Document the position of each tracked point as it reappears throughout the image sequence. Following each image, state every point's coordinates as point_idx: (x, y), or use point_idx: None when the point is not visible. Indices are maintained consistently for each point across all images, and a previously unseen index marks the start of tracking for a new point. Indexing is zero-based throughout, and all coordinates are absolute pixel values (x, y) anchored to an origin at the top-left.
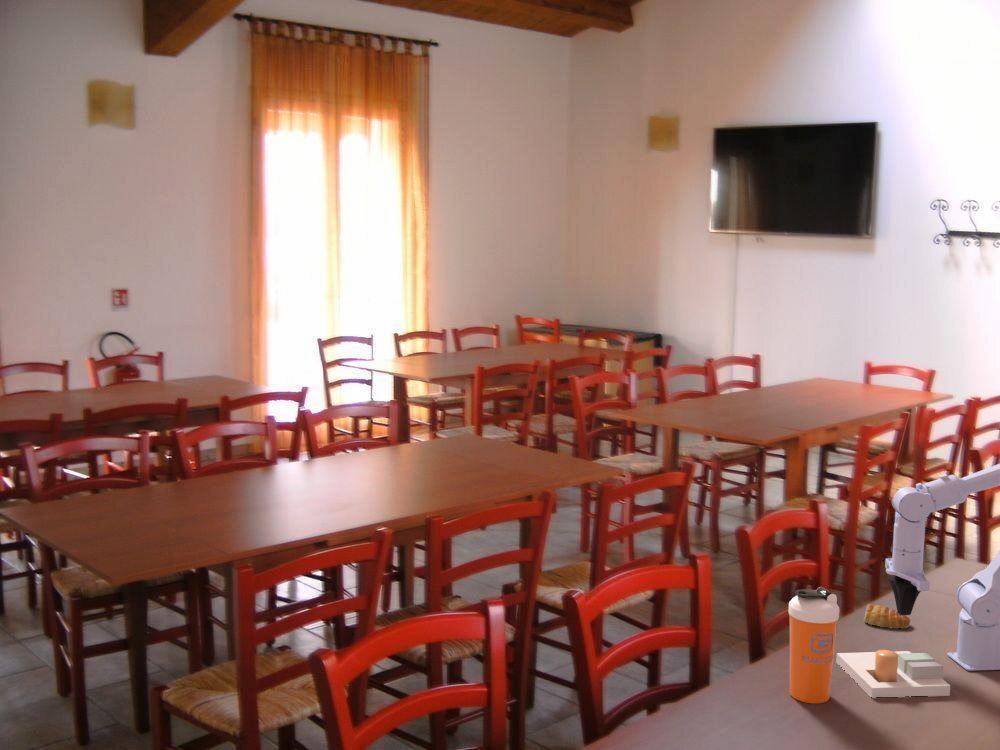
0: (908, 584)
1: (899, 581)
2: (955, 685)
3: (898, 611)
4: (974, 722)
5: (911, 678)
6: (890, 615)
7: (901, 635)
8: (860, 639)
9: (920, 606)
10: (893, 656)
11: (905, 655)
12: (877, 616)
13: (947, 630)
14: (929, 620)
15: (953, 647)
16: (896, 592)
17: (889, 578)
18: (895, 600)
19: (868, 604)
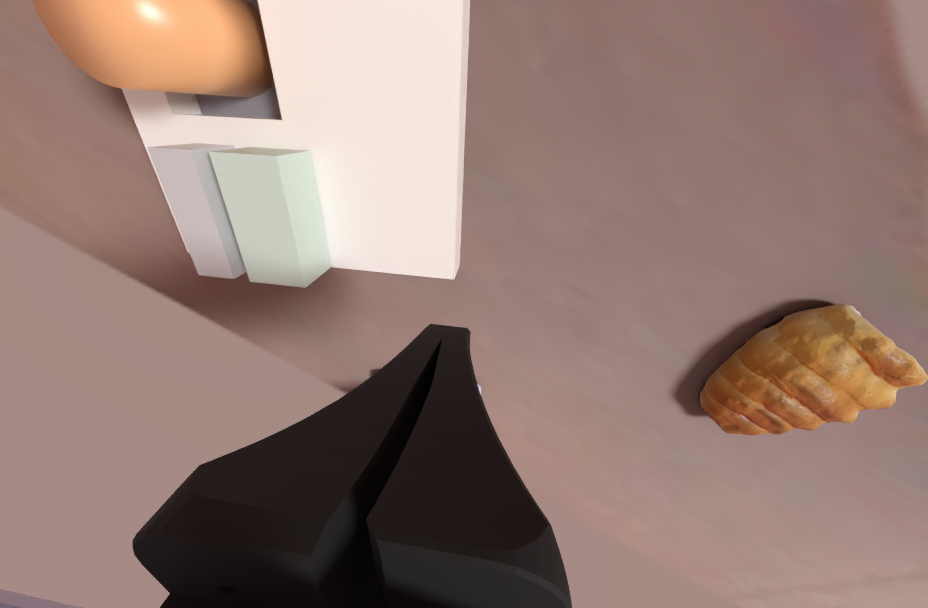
0: (168, 590)
1: (261, 587)
2: (289, 295)
3: (448, 331)
4: (65, 211)
5: (193, 143)
6: (770, 392)
7: (657, 355)
8: (693, 194)
9: (824, 508)
10: (71, 39)
11: (261, 184)
12: (803, 350)
13: (636, 468)
14: (720, 473)
15: (528, 422)
16: (416, 423)
17: (494, 572)
18: (467, 370)
19: (922, 373)
